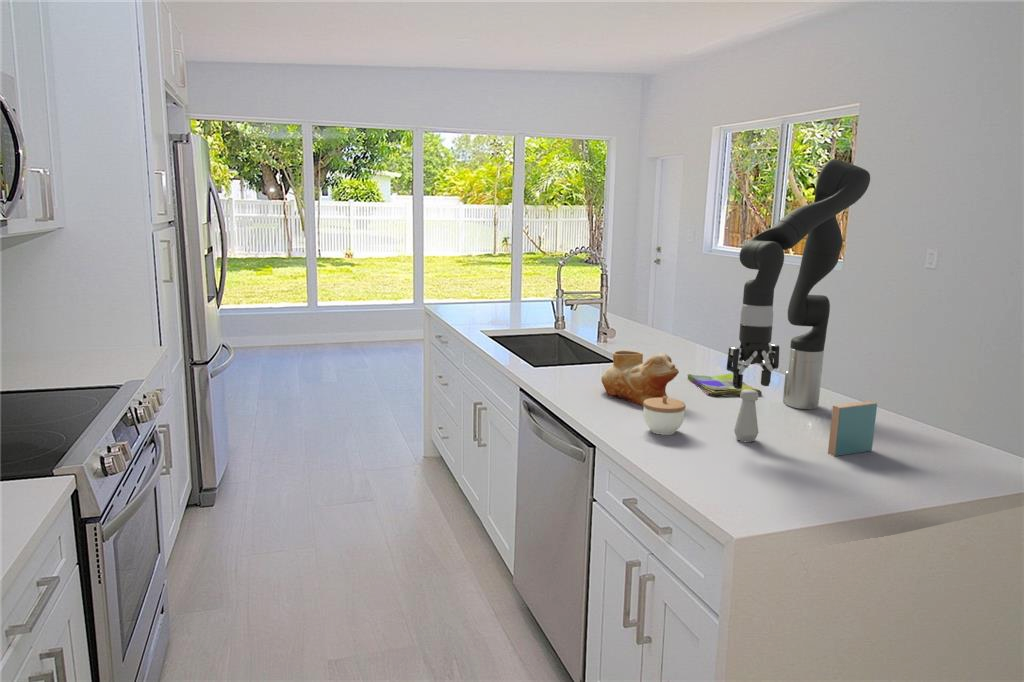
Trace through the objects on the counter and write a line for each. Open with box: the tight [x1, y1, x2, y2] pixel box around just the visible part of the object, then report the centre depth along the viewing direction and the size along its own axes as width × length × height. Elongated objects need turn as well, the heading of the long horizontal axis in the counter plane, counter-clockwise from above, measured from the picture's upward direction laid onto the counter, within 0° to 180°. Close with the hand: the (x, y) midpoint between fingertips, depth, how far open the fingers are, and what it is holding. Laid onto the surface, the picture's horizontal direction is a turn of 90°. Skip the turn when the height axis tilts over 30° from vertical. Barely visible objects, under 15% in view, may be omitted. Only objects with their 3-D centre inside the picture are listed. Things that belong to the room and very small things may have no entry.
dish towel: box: [687, 372, 762, 396], centre depth 232 cm, size 18×24×3 cm
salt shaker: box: [733, 389, 759, 443], centre depth 178 cm, size 6×6×13 cm
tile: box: [827, 400, 878, 457], centre depth 171 cm, size 2×12×12 cm, turn 113°
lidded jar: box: [642, 396, 686, 436], centre depth 184 cm, size 11×11×9 cm
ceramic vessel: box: [601, 350, 680, 407], centre depth 216 cm, size 14×26×15 cm, turn 40°
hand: (751, 387), depth 177 cm, fingers open, 8 cm apart
